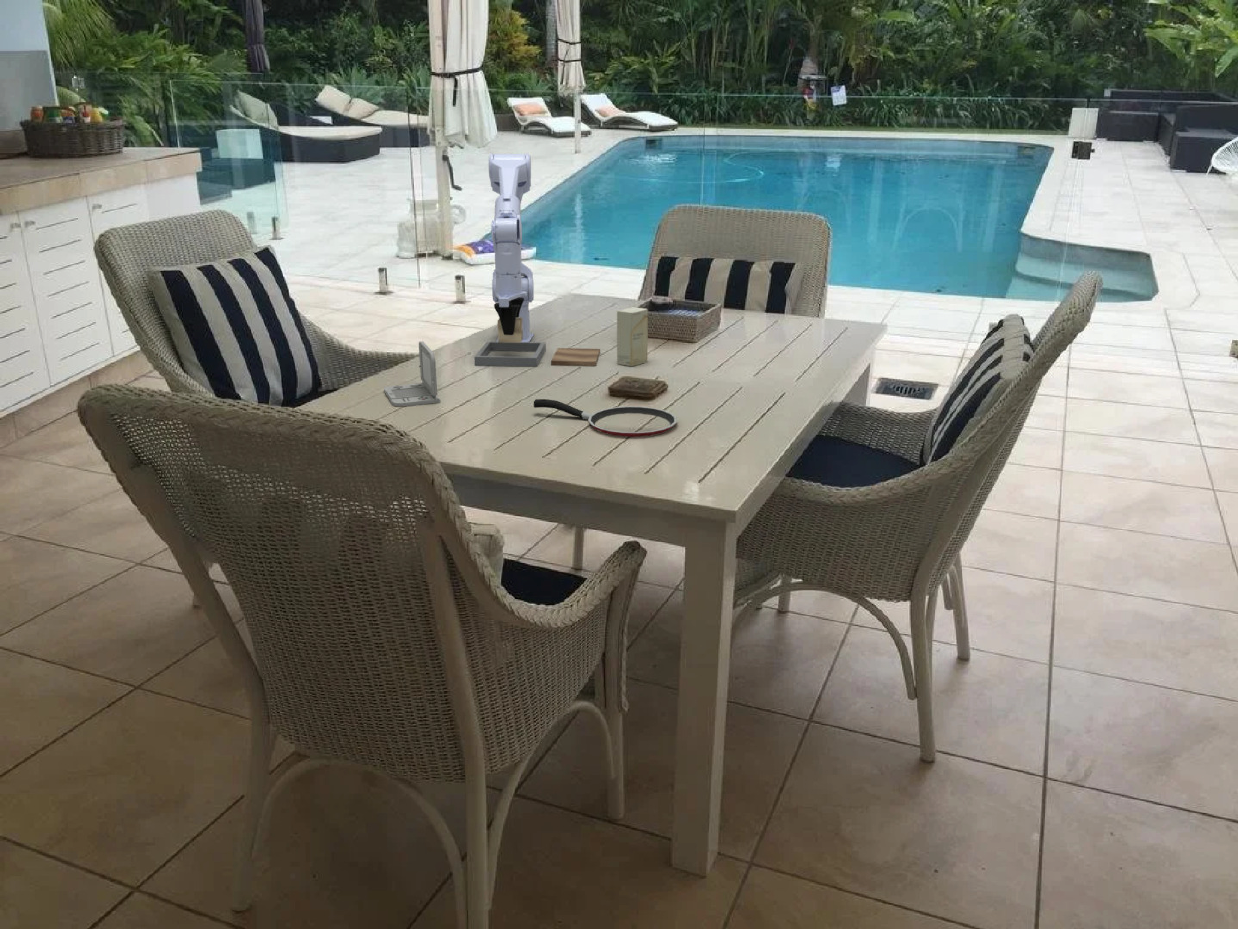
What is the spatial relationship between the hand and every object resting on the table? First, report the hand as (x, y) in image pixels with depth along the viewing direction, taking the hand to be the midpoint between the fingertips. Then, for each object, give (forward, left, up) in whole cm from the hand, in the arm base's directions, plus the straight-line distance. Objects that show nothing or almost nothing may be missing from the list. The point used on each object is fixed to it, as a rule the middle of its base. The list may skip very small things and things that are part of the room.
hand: (510, 332), depth 241 cm
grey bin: (0, 0, -6) cm, 6 cm away
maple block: (0, 0, -2) cm, 2 cm away
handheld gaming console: (+33, -15, -6) cm, 36 cm away
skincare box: (+3, +28, -6) cm, 29 cm away
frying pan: (+47, +25, -7) cm, 53 cm away
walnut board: (0, +15, -6) cm, 16 cm away
